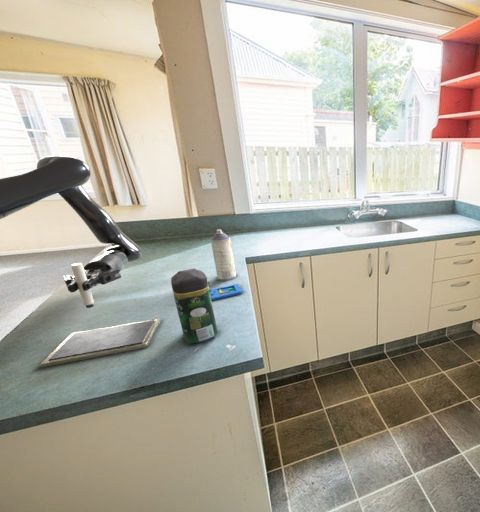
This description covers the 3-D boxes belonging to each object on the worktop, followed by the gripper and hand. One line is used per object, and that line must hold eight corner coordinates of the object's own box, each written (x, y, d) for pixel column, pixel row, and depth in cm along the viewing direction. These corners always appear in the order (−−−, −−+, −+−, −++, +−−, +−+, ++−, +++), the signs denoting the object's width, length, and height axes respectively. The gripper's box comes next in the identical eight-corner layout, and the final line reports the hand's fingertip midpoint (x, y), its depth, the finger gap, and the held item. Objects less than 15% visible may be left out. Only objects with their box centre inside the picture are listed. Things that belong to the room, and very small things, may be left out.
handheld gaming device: (191, 292, 104) (237, 282, 113) (192, 295, 105) (237, 285, 113) (194, 301, 98) (242, 290, 107) (194, 304, 98) (242, 293, 107)
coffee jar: (182, 332, 83) (167, 270, 77) (213, 323, 88) (202, 264, 82) (186, 348, 76) (170, 282, 70) (220, 338, 80) (208, 274, 75)
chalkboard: (41, 367, 68) (39, 363, 68) (72, 336, 81) (71, 332, 80) (147, 347, 76) (145, 343, 76) (160, 321, 88) (159, 317, 88)
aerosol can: (239, 276, 122) (232, 229, 116) (223, 281, 117) (215, 232, 111) (230, 273, 126) (222, 227, 120) (214, 278, 120) (205, 230, 114)
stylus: (83, 309, 84) (69, 266, 80) (87, 305, 86) (73, 263, 82) (93, 307, 85) (79, 265, 81) (96, 304, 86) (83, 262, 83)
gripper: (72, 259, 92) (38, 279, 77) (128, 254, 97) (106, 272, 82) (79, 281, 94) (47, 305, 79) (133, 275, 99) (113, 296, 84)
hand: (77, 288), depth 80 cm, fingers closed on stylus, 2 cm apart
